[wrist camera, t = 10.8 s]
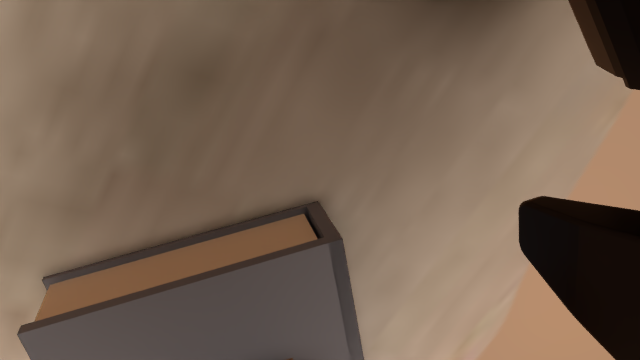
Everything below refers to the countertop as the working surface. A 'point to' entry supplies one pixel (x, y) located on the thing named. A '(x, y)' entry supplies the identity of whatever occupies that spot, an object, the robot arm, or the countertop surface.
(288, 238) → the book
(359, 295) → the countertop surface
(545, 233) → the robot arm
